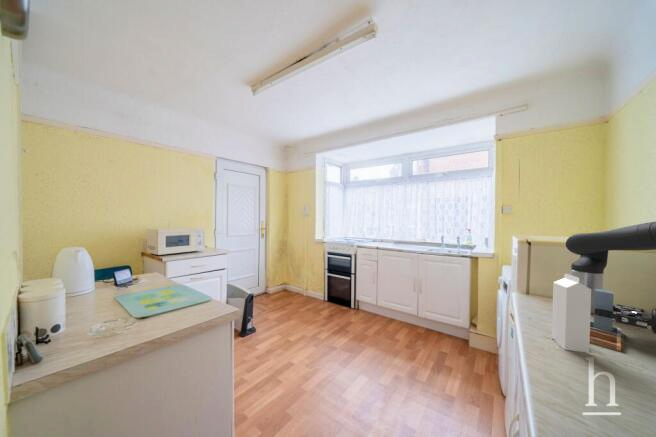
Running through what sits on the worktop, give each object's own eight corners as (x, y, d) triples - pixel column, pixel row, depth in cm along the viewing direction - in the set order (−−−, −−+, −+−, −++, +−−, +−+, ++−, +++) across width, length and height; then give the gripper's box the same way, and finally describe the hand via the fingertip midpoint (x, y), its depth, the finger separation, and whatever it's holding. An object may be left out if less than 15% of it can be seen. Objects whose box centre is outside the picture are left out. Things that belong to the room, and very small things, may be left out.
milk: (564, 350, 71) (566, 277, 70) (551, 339, 77) (552, 272, 76) (590, 353, 69) (592, 278, 69) (574, 342, 75) (575, 273, 75)
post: (594, 327, 83) (595, 288, 83) (612, 332, 80) (613, 291, 80) (593, 331, 80) (594, 290, 80) (611, 336, 77) (613, 293, 77)
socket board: (584, 325, 87) (584, 319, 86) (623, 336, 80) (624, 328, 79) (578, 343, 75) (579, 335, 75) (624, 356, 68) (624, 348, 68)
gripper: (675, 307, 73) (597, 293, 86) (683, 319, 64) (594, 302, 77) (674, 331, 73) (596, 313, 86) (682, 346, 64) (593, 324, 77)
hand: (595, 308), depth 81 cm, fingers open, 8 cm apart
